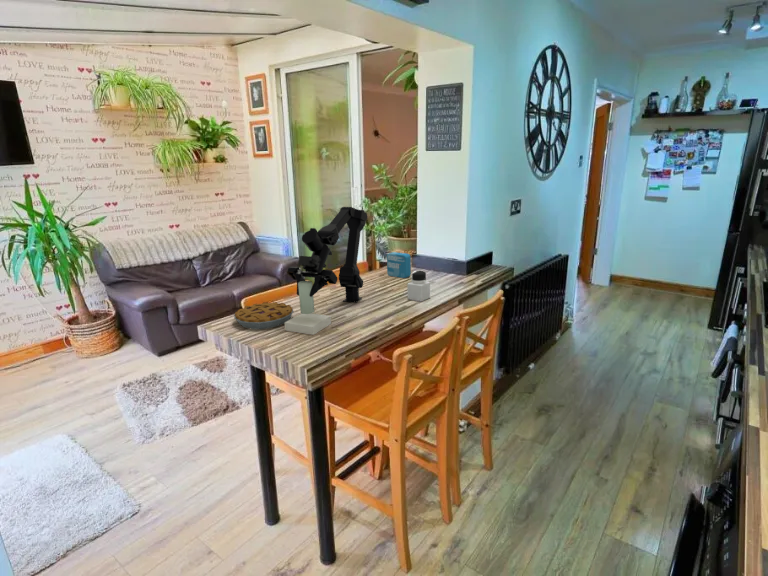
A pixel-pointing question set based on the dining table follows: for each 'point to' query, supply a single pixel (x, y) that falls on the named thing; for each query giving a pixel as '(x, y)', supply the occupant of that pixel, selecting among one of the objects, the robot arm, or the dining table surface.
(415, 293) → the medicine bottle
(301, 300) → the ball
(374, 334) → the dining table surface
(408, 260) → the data package
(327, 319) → the stand
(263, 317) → the pie
